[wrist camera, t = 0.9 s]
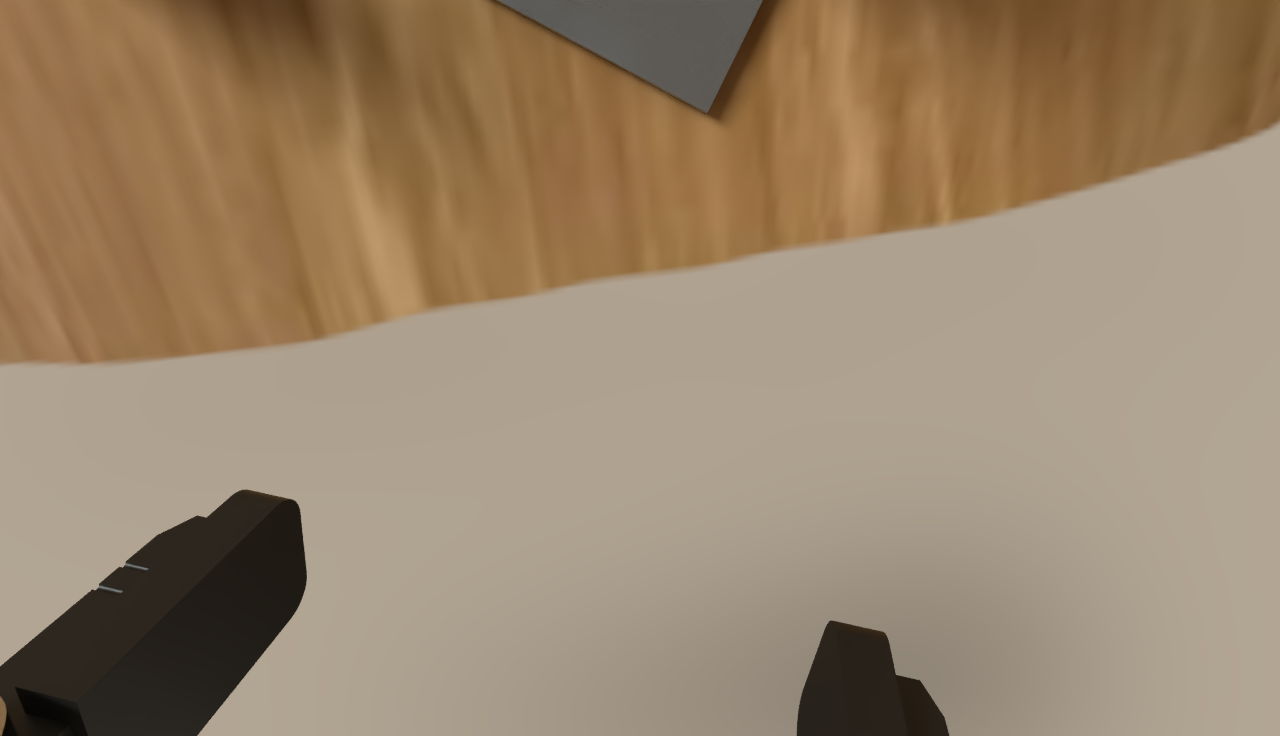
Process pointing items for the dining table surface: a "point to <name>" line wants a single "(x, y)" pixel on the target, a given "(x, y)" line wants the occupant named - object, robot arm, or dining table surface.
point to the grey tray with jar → (654, 38)
